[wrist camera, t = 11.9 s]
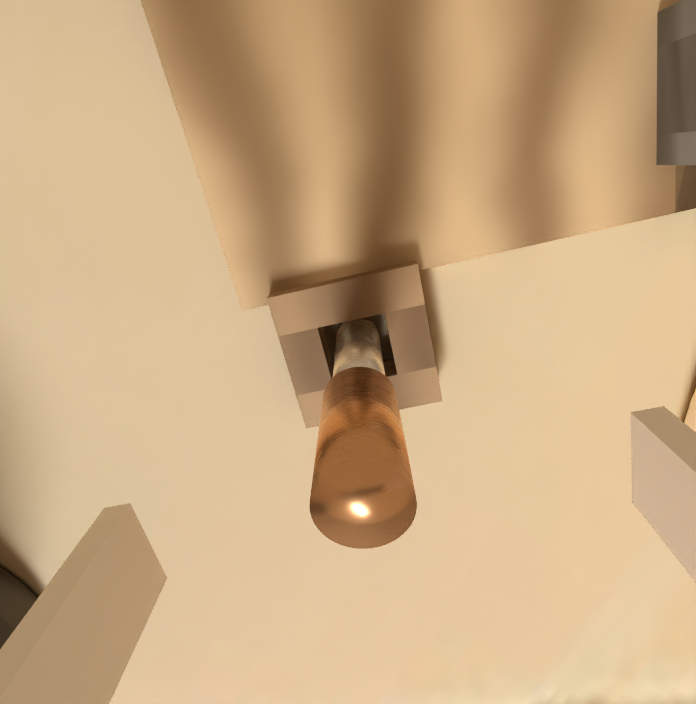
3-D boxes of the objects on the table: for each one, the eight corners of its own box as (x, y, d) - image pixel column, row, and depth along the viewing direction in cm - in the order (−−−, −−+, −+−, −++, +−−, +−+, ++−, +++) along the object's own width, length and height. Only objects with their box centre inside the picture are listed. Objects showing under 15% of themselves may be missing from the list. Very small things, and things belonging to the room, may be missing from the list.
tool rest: (309, 409, 26) (306, 428, 24) (273, 287, 24) (266, 298, 22) (435, 383, 25) (442, 400, 24) (412, 255, 23) (417, 263, 21)
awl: (337, 367, 25) (324, 556, 13) (324, 317, 24) (297, 473, 12) (389, 356, 25) (424, 538, 13) (378, 305, 24) (405, 452, 12)
